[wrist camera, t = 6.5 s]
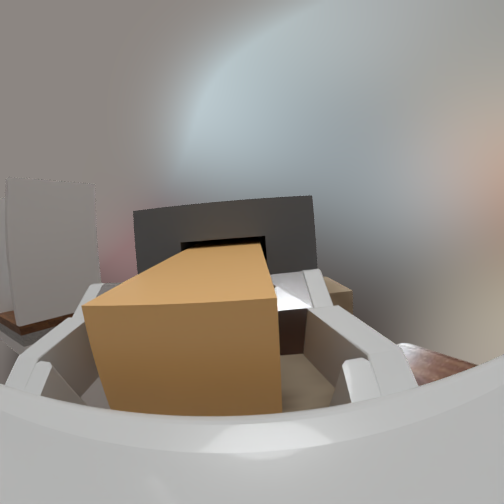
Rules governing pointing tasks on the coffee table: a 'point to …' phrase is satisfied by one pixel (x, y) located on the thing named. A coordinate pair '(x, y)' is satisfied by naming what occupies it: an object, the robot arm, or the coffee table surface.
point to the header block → (231, 230)
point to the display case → (46, 261)
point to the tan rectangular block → (191, 335)
